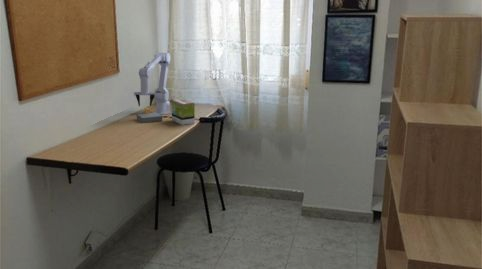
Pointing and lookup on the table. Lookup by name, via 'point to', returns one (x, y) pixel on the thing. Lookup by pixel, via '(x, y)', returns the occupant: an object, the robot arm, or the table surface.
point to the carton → (149, 119)
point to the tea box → (183, 111)
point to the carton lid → (149, 114)
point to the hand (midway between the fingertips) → (144, 105)
